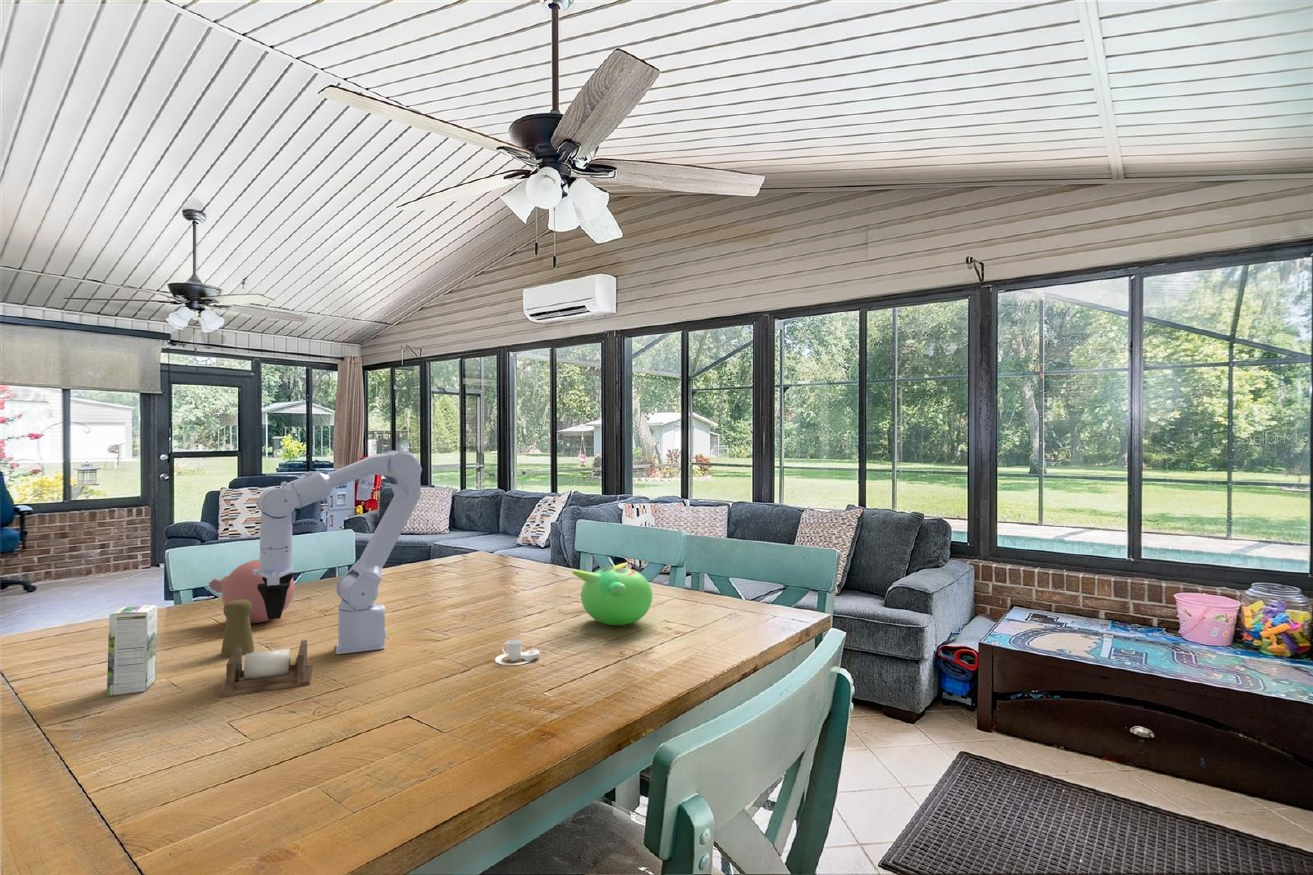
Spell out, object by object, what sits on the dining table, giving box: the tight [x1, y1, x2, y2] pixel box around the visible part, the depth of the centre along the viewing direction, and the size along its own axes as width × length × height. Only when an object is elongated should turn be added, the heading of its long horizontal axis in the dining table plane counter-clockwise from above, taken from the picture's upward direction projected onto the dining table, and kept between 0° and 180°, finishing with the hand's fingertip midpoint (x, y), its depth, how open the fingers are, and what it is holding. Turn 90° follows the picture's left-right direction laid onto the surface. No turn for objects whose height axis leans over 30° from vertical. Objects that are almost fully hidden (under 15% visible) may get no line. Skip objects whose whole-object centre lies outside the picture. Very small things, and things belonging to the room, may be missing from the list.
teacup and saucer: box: [494, 638, 541, 666], centre depth 135 cm, size 9×8×4 cm
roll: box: [243, 648, 292, 681], centre depth 122 cm, size 7×5×5 cm
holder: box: [219, 639, 314, 698], centre depth 122 cm, size 14×10×6 cm
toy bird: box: [571, 562, 653, 626], centre depth 161 cm, size 18×17×15 cm
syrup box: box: [106, 604, 159, 697], centre depth 118 cm, size 6×6×14 cm
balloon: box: [208, 558, 296, 624], centre depth 162 cm, size 15×20×15 cm
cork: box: [220, 599, 255, 658], centre depth 139 cm, size 6×6×11 cm
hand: (276, 614), depth 132 cm, fingers open, 7 cm apart
